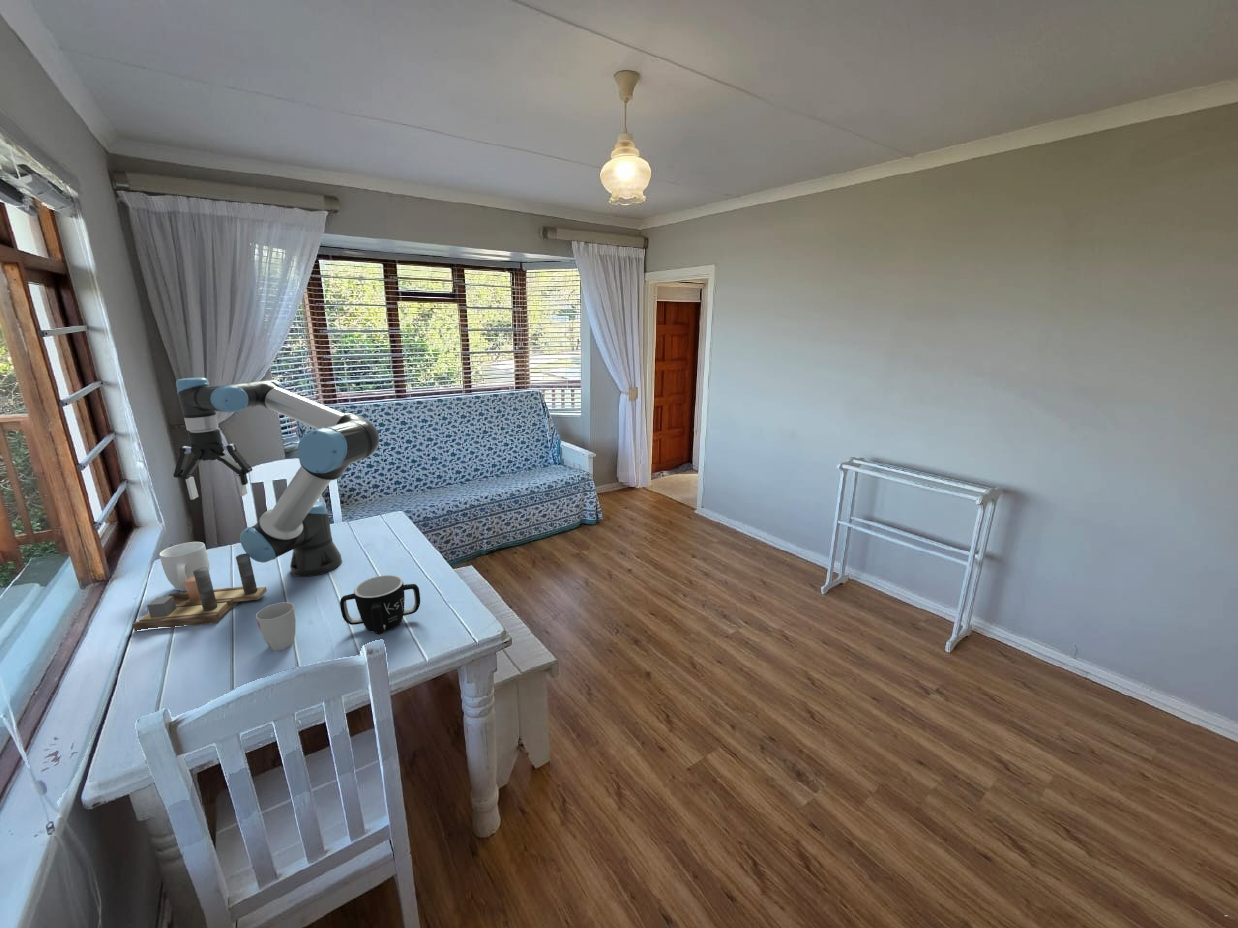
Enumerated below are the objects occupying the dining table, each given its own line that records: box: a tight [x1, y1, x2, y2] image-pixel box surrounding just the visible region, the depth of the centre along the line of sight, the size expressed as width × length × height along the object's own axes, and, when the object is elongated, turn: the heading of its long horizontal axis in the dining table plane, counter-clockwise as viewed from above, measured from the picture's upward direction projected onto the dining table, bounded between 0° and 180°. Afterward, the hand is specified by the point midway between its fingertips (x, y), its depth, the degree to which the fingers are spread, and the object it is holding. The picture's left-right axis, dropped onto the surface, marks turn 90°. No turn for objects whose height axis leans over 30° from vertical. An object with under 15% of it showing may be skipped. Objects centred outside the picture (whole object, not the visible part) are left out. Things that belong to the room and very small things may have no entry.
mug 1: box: [159, 541, 211, 592], centre depth 156 cm, size 15×11×13 cm
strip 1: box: [138, 567, 228, 622], centre depth 139 cm, size 19×5×13 cm, turn 102°
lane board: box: [131, 586, 243, 632], centre depth 145 cm, size 20×16×2 cm
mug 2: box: [339, 574, 421, 635], centre depth 136 cm, size 16×16×12 cm
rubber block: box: [146, 595, 177, 618], centre depth 139 cm, size 4×4×4 cm
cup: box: [255, 601, 297, 652], centre depth 128 cm, size 8×8×10 cm
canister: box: [184, 576, 201, 602], centre depth 147 cm, size 5×5×6 cm
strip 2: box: [185, 552, 267, 604], centre depth 148 cm, size 19×5×13 cm, turn 102°
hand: (219, 496), depth 156 cm, fingers open, 13 cm apart
